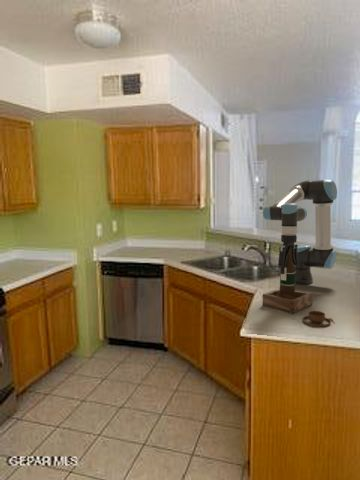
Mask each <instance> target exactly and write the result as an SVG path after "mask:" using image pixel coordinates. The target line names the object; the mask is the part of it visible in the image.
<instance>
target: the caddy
mask: <svg viewBox="0 0 360 480" xmlns="http://www.w3.org/2000/svg"><path fill="white" fill-rule="evenodd" d="M290 302H293V303H294V308H293V309H292V311H293V312H292V314H296V313H298V312H300V311H302V310H304V309H306V308H309V307H311V306H313V293H309V292H304V291H300V290H296V289H295V292H294V294H283V293H280V287H279V288H277V289H274V290H270V291H267V292H265V293H262V306H263V307H267V308H271V309H275V310H280V311H282V312H287V313H289V314H290V313H291V312H290V311H291V309H290V308H289V303H290Z"/></svg>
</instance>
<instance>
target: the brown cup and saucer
mask: <svg viewBox="0 0 360 480" xmlns="http://www.w3.org/2000/svg"><path fill="white" fill-rule="evenodd" d="M289 308H290V309H291V311H290V312H291V313H290V312H289V314H290V315H293V313H292V312H293V311H292V309H293V308H294V303H293V302H290V303H289ZM292 320H295V318H292ZM306 320H309V321H310V322H308V321H306ZM324 322H327V323H324ZM331 322H332V323H333V324H336V322H335V321H334V319H333V318H330V317H328V318H327V317H326V313H324V312H322V311H319V310H311V311H309V312H308V315H307V316H304V317H302V323H304V324H305V325H307V326H309V327H314V328H315V327H317V328H326V327H328V326H330V325H331ZM321 323H322V324H321ZM323 323H324V324H323Z"/></svg>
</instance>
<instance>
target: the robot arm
mask: <svg viewBox="0 0 360 480" xmlns="http://www.w3.org/2000/svg"><path fill="white" fill-rule="evenodd" d="M337 197H338V189H337V185H336V183H335V181H334V180H331V179H315V180H314V179H313V180H311V179H309V180H304V181H301V182H299V183H297V184H295V185H294V186H292V187H290V189H289V191H288V192H287V193H286V194H285V195H283V197H281V198H280V199H279V200H278V201H277V202H275V203H274V204H272V206H271V205H268V206H264V208H263V210H262V217H263V219H264V220H266V221H281V224H280V225H281V226H280V227H281V228H280V229H281V232H280V233H281V235H280V242H281V243H283V245H282V246H279V248H278V250H279V253H278V254H279V255H278V261H277V262H278V263H277V266H278V268H280V269H281V280H285V281H286V263H287V258H288V255H289V254H290V250H291V247H292V262H293V264H294V265H295V269H296V275H295V285H311V284H312V283H314V278H313V274H312V271H311V268H319V269H330V270H331V269H333V267H334V266H335V263H336V262H337V261H336V260H337V257H338V256H337V255H338V254H337V253H338V252H337V250H335V249H334V245H332V244H331V243H332V242H331V234H332V232H331V223H332V222H331V213H332V212H331V207H332V205H333V203H334V201H335V200H336V199H337ZM305 200H307V201H308V200H310V201H311V200H312V204H313V205H314V209H315V211H314V212H315V214H314V215H315V222H314V223H315V224H314V225H315V244H314V245H313V246H312V245H306V244H305V245H298V244H295V243H297V238H298V237H297V232H298V222H301V221H304V220H305V219H306V218H307V216H308V211H307V209H306V208H305V207H303V206H298V203H300V202H301V201H305Z"/></svg>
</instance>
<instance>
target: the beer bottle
mask: <svg viewBox="0 0 360 480" xmlns="http://www.w3.org/2000/svg"><path fill="white" fill-rule="evenodd" d="M279 272H280V273H279V275H280V276H279V288H280V293H283V294H294V292H295V290H296V284H295V275H296V269H295V265H294V264H293V262H292V247H291V250H290V254H289V255H288V258H287V263H286V281H285V280H281V268H280V270H279Z"/></svg>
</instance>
